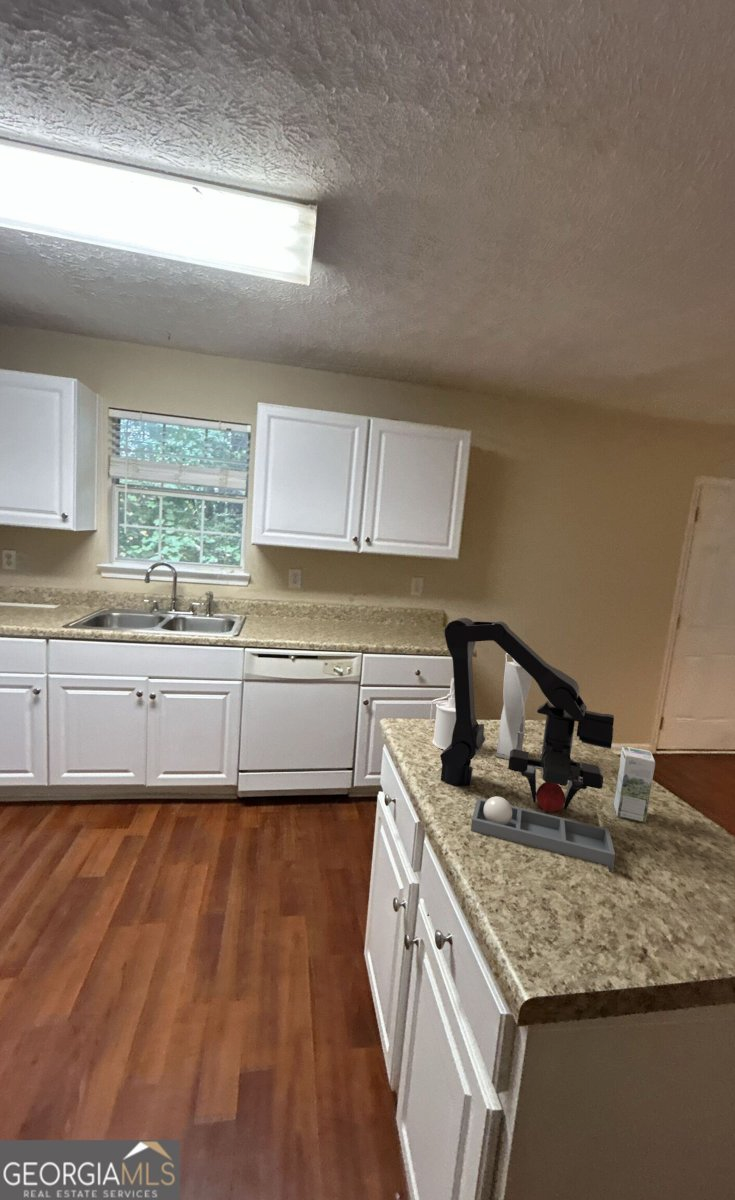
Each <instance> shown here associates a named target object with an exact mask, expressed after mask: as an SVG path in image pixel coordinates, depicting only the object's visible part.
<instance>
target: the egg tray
mask: <svg viewBox="0 0 735 1200" xmlns="http://www.w3.org/2000/svg"><path fill="white" fill-rule="evenodd" d="M487 800H488V799H484V798H479V797H477V798H476V803H475V807H474V811H473V813H472V818H471V824H470V831H471V832H475V833H479V834H483V835H486V836H491V837H495V838H498V839H503V840H506V841H510V842H513V843H518V844H522V845H526V846H530V847H533V848H537V849H540V850H541V849H542V850H545V851H550V852H553V853H558V854H560V855H565V856H569V857H572V858H575V859H581V860H585V861H588V862H593V863H596V864H600V865H604V866H607V869H608V872H609V873H611V874H613V872H614V865H615V859H616V853H615V847H614V845H613V841H612V840H613V839H612V837H611V833H610V829H609V828H608V827H603V826H598V825H595V824H592V823H591V824H590V823H586V822H582V821H578V820H573V819H569V818H564V817H561V816H560V817H559V816H555V815H552V814H548V813H543V812H538V811H534V810H531V809H527V808H522V807H519V806H518V807H517V806H515V805H514V806H513V805H511V808H512V818H511V820H510V822H509V823H508V824H507V825H501V824H497V823H493V822H489V821H487V820H486V818H485V816H484V811H483V810H484V805H485V803H486V801H487Z"/></svg>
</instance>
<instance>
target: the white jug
mask: <svg viewBox="0 0 735 1200" xmlns="http://www.w3.org/2000/svg"><path fill="white" fill-rule="evenodd" d="M449 688H450V689H449V693H447V695H446V696H443V697H442V696H441V697H438V698H434V699H432V701H431V707H430V715H429V728H431V725H432V716H433V705H434V702H435V703H436V704H435V707H436V712H435V723H434V731H433V739H432V745H433V744H434V745H435V746H436V747H435V746H434V745H433V746H434V747H435V748H437V749H439V748H440V749H439V750H441V749H443V750H442V751H444V750H445V749H446V748H447V747H448V746H449V745H450V744H451V742H452V734H453V730H454V726H455V722H456V710H455V692H454V677H452V678H451V679H450V687H449Z"/></svg>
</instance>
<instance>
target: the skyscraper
mask: <svg viewBox="0 0 735 1200" xmlns="http://www.w3.org/2000/svg"><path fill="white" fill-rule="evenodd" d="M504 655H505V665H504V674H503V675H504V676H503V687H502V689H503V692H502V693H503V695H502V696H503V698H502V699H503V706H502V711H501V715H500V722H499V729H498V735H497V747H496V753H495V754H494V757H495V756H497V757H496V758H498V757H500V758H499V759H502V758H504V759H503V760H505V759H506V760H505V761H508V760H509V757H510V751H511V750H513V749H516V750H521V751H524V748H523V746H524V745H523V744H524V735H525V730H526V728H525V727H526V706H525V705H526V702H527V699H528V697H529V693H530V689H531V686H532V679H533V677H532V676H531V675H530V674H529V673H528V672H527V671H526V670H524V669H523V668H522V667H521V666H520V665H519V664H518V663H517V662H516V661H515V660H514V659H513V658H512V657H511V656H510V655H509V654H508V653H507V652H505V654H504ZM508 657H511V659H512V660H513V661H508Z"/></svg>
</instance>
